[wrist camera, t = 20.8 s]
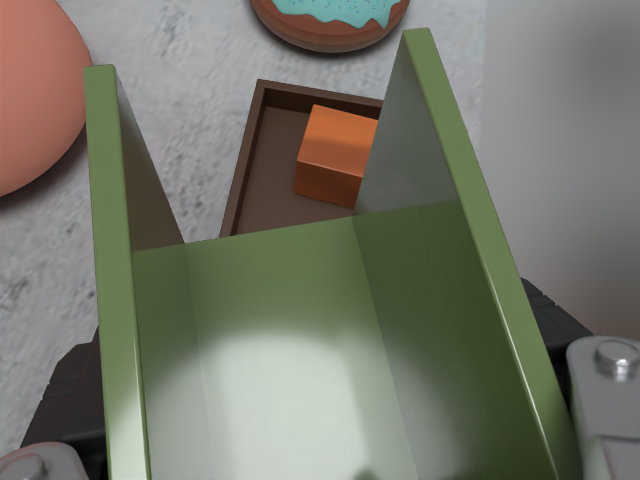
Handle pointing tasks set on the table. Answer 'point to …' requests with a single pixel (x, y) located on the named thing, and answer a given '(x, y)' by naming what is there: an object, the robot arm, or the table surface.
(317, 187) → the block
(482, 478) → the green storage bin
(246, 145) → the tray
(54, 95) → the teapot
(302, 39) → the donut
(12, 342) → the table surface
